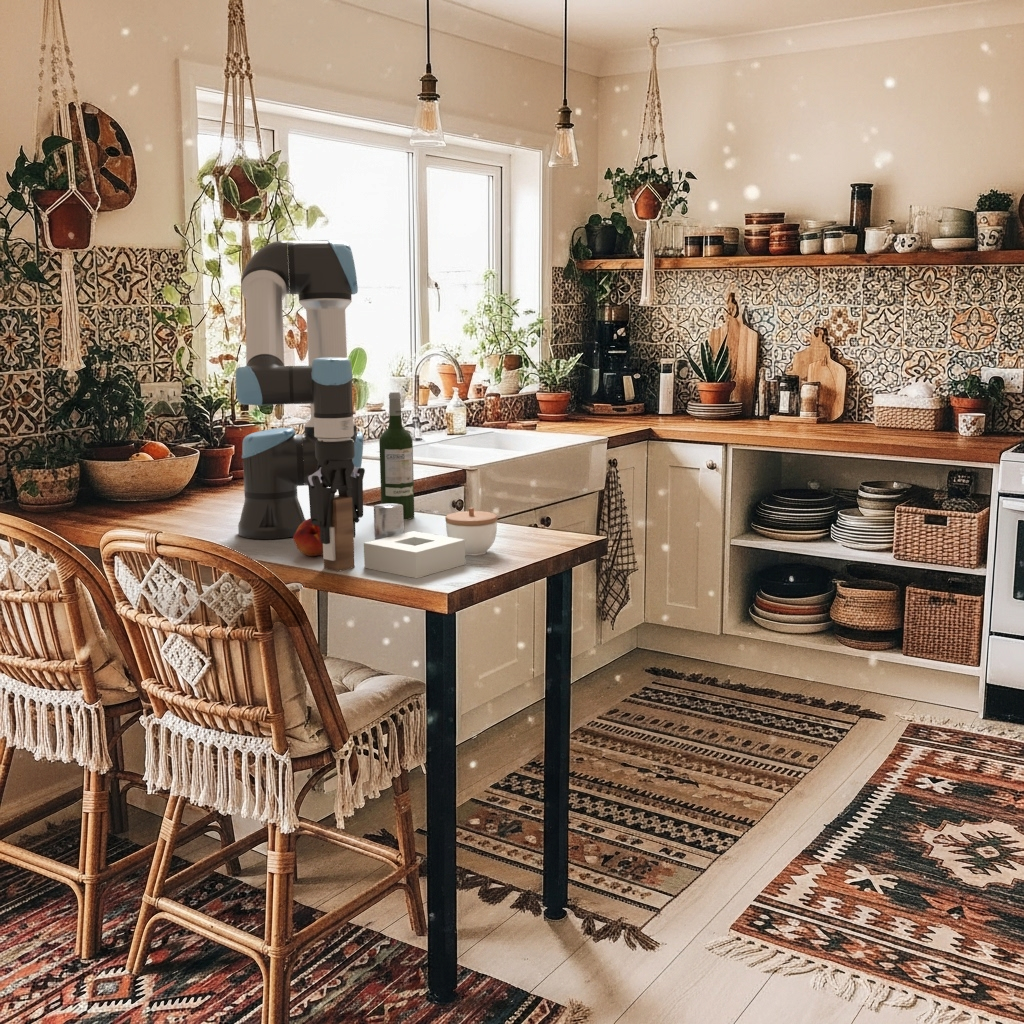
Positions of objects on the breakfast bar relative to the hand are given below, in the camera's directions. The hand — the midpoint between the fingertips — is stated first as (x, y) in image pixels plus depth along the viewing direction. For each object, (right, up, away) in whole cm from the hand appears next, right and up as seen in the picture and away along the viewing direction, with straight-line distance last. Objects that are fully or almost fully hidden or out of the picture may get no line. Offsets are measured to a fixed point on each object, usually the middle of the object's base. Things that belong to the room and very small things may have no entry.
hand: (338, 556), depth 222 cm
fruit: (-7, 0, +11) cm, 13 cm away
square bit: (0, -2, 0) cm, 2 cm away
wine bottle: (+6, +7, +51) cm, 52 cm away
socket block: (+15, -2, +1) cm, 15 cm away
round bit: (+9, 0, +12) cm, 15 cm away
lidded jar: (+26, 0, +13) cm, 29 cm away
